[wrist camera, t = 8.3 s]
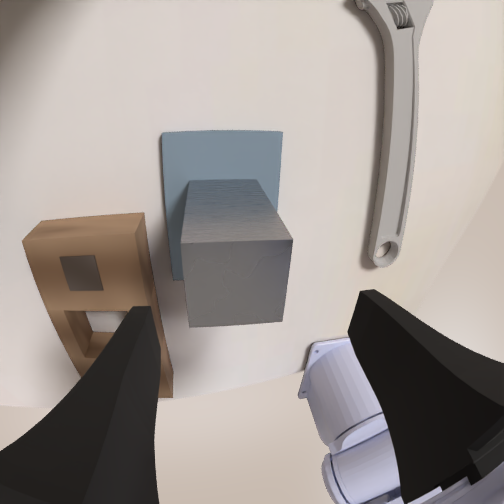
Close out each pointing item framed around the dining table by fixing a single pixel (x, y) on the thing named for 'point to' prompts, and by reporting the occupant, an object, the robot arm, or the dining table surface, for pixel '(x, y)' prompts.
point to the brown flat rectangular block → (94, 280)
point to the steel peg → (233, 254)
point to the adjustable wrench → (396, 118)
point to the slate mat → (214, 170)
